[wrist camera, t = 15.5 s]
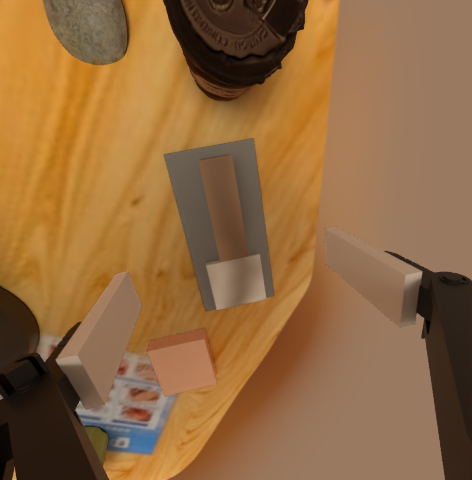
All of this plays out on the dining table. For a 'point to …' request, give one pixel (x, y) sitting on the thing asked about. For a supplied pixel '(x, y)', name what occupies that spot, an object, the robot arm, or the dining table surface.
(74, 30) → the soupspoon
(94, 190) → the dining table surface
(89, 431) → the plant pot
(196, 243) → the mat
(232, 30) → the coffee cup
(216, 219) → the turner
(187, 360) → the tile
